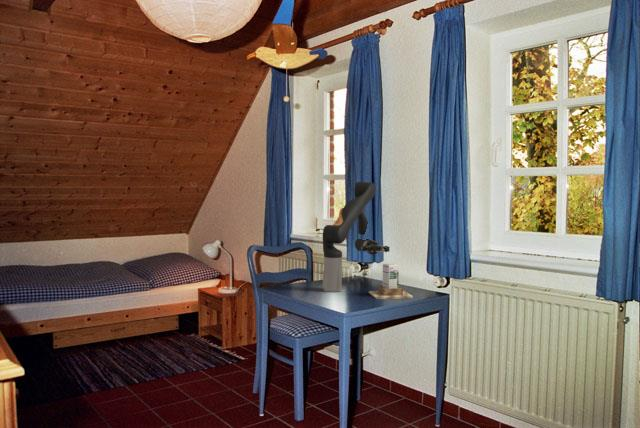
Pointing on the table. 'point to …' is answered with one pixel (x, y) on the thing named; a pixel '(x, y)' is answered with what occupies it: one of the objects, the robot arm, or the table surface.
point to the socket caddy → (390, 293)
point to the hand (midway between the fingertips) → (378, 249)
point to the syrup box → (390, 276)
